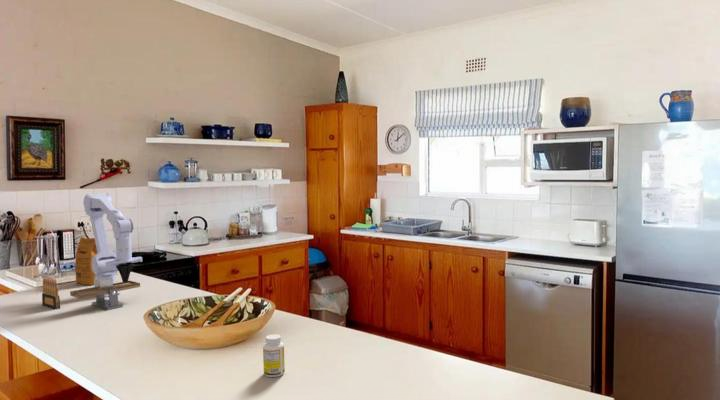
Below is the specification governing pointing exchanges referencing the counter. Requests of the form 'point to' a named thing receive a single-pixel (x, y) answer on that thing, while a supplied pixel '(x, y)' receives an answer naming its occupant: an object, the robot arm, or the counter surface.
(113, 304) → the stand
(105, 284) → the block
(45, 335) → the counter surface
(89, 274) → the coffee package
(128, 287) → the wooden tray
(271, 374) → the supplement bottle
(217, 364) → the counter surface
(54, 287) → the ammunition clip
